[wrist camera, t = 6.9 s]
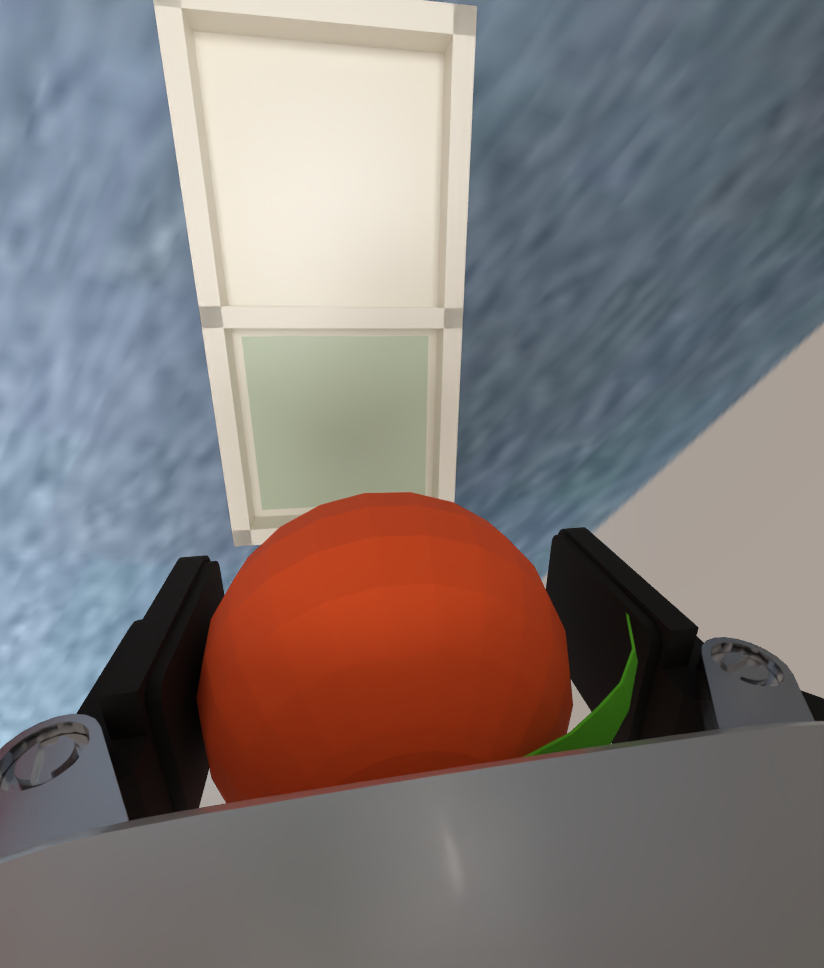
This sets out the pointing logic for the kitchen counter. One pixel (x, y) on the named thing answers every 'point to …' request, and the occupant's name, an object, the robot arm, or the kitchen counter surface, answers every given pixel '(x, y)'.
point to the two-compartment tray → (325, 240)
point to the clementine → (386, 653)
